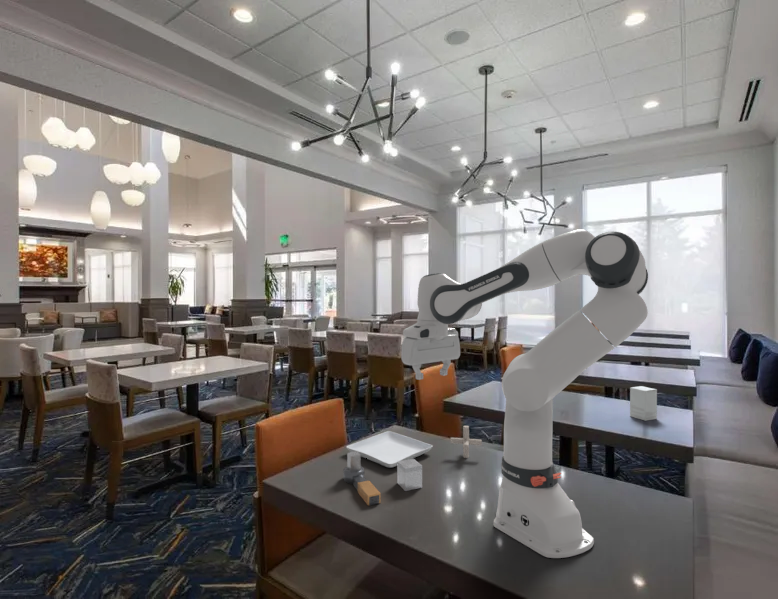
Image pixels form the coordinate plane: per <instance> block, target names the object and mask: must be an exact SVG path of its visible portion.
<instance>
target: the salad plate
mask: <svg viewBox="0 0 778 599" xmlns="http://www.w3.org/2000/svg"><path fill="white" fill-rule="evenodd" d="M433 446H434V445H433V444H430V443H427V442H423V441H422V440H418V439H415V438H414V437H410V436H406V435H404V434H401V433H397V432H395V431H391V430H387V431H385V432H382V433H379V434H376V435H373V436H370V437H368V438H364V439H362V440H359V441H357V442H354V443H351V444H349V445H346V449H347V450H348V451H349V452H355V451H357V452H358V453H359V454H360V455H361V458H364V459H366V458H367V460H369V461H372V462H374V463H376V464H379V465H381V466H383V467H386V468H394V467H397V462H398V461H403V460H409V459H416V457H419V456H421V455H424V454H426V453H428V452H429V451H431V450H432V449H433Z"/></svg>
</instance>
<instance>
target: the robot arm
mask: <svg viewBox="0 0 778 599" xmlns="http://www.w3.org/2000/svg"><path fill="white" fill-rule="evenodd" d="M648 272H649V271H648V269H647V266H646V260H645V258H644V255H643V254H642V251H641V250H640V248H639V246H638V244H637V242H636V241H635V240H634V239H633V238H631V236H629V235H627V234H626V233H623V232H619V231H606V232H602V233H600V234H598V235H596V236H594V235H593V234H592V233H591V232H590V231H588V230H586V229H579V228H578V229H574V230H570V231H568V232H564V233H561V234H558V235H556V236H554V237H551V238H548V239H547V240H544V241H542V242H540V243H538V244H536V245H534V246H532V247H531V248H529V249H527V250H525V251H524V252H522V253H520V254H519V255H518V256H516V257H514V258H513V259H511V260H510V261H507V263H505V264H503V265H501V266H500V267H498V268H496V269H493V270H492V271H489V272H487V273H484V274H483V275H480V276H478V277H475V278H474V279H471V280H469V281H467V282H464V283H460V282H458V281H456V280H454V279H452V278H451V277H449V276H448V275H447V274H446V273H443V272H436V273H430V274H425V275H424V276H422V277H421V278H420V280H419V282H418V287H417V308H418V314H417V319H416V323H414V324H412V325H409V326H408V327H406V328H405V329H403V330H402V336H403V337H404V339H403V340H402V343H401V353H400V354H401V357H400V358H401V362H402V363H403V364H404V365H406V366H411V368H412V369H413V371H414V373H415V380H419V381H420V380H424V372H422V371H421V367H422V364H423V365H424V364H430V363H437V362H438V363H439V362H441V363H443V364H442V367H441V368H439V375H440V376H443V377H445V376H447V375H448V371H449V368H450V366H451V364H452V363H451V360H458V359H459V358H460V356H461V346H460V345H461V344H460V338H459V331H458V330H457V329H455V328H454V327H451V328H449V325H451V324H455V323H457V322H460V321H461V322H462V321H464V320H469V319H471V318H474V317H475V316H476V315H478V314H479V312H480V311H481V309H482V305H483V303H485V302H487V301H490V300H492V299H495V298H498V297H500V296H503V295H505V294H509V293H515V292H524V291H525V292H527V291H528V292H529V291H536V290H542V289H546V288H548V287H553V286H554V285H558V284H560V283H562V282H564V281H567V280H569V279H572V278H574V277H576V276H577V277H578V276H583V275H584V276H588V277H590V279H591V281H592V283H593V284H595V285H596V286H597V292H596V293H595V296H594V297H593V298H592V299H591V300H590V301H588V303H586V304H585V305H584V306H582V307H581V308H580V309H578V310H577V311H576V312H574V313H573V314H572V315H570V316H569V317H568V318H566V319H565V320H564V321H563V322H561V323H560V324H559V325H558V326H557V327H555V328H554V329H553V330H551V331H550V332H549V333H548V334H547V335H546V336H545V337H544V338H542V339H541V340H540V341H539V342H538V343H537V344H535V345H534V346H533V347H532V348H531V349H529V350H528V351H526V353H522V354H519V355H517V356H515V357H514V358H513V359H512V361H510V363H509V365H508V366H507V368H506V370H505V372H504V373H503V376H502V379H501V388H502V389H501V391H502V392H503V393H502V394H503V396H504V398H505V410H504V421H503V456H502V457H501V463H500V467H501V475H502V480H501V484H500V487H499V491H498V498H497V506H496V507H497V509H496V512H495V518H494V519H493V524H492V525H493V527H495V529H497V530H498V531H501V533H505V535H507V536H509V537H511V538H512V539H514V540H516V541H517V542H519V543H520V544H523V545H524V546H525V547H528V548H530V549H531V550H533V551H534V552H536V553H537V554H539V555H541V556H543V557H545V558H548V559H549V558H551V559H561V558H562V559H563V558H569V557H575V556H577V555H580V554H581V555H582V554H584V553H586V552H587V551H589V550H591V548H593V546H594V543H595V540H594V539H595V538H594V536H592V535H591V534H590V533H588V532H587V531H586V530H585V529H584V528H583V524H582V518H581V513H580V511H579V509H578V508H577V507H576V504H575V501H574V500H572V499H570V497H569V496H568V494H567V493H566V491H564V489H563V488H562V486H561V485H560V483H559V479H560V478H562V476H560V475H562V472H556V467H555V464H554V461H553V424H554V423H553V419H554V414H553V413H554V412H553V410H554V398H555V397H556V396H557V395H558V394H560V392H562V391H563V390H564V389H565V388H567V386H569V385H570V384H571V383H572V382H574V381H575V379H577V377H579V376H580V375H581V374H582V373H583V372H584V371H585V370H587V369H588V368H589V367H591V366H592V365H594V364H595V363H596V362H597V361H599V360H601V359H602V358H603V357H604V356H606V355H607V354H608V353H610V352H612V351H613V350H614V349H615V348H617V347H618V346H619V345H620V344H622V343H623V342H625V341H626V340H627V339H628V338H629V337H630V336H631V335H632V334H633V333H634V332H635V331H637V329H638V328H639V327H640V326H642V324H643V323H644V322H645V321H646V319H647V318H648V314H649V313H648V312H649V311H648V306H647V303H646V302H645V300H644V299H643V298H642V297H641V295H640V294H642V293H643V291H644V290H645V288H646V286H647V284H648V279H649V273H648Z"/></svg>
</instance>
